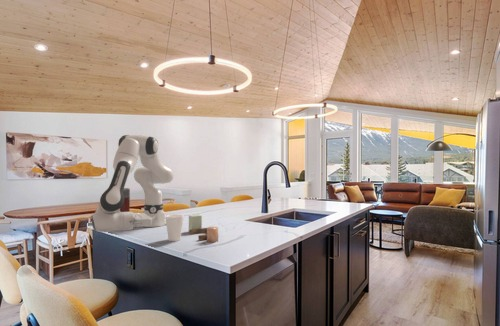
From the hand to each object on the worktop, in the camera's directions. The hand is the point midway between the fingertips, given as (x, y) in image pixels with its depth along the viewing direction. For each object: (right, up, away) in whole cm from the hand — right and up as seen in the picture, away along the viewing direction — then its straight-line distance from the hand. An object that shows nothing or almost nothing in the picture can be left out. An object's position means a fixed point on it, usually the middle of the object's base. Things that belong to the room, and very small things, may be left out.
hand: (157, 218), depth 146 cm
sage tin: (+15, -13, +23) cm, 31 cm away
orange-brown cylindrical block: (+29, -13, +3) cm, 31 cm away
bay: (+22, -13, +13) cm, 29 cm away
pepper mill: (-47, -13, +57) cm, 75 cm away
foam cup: (+8, -13, +5) cm, 16 cm away
